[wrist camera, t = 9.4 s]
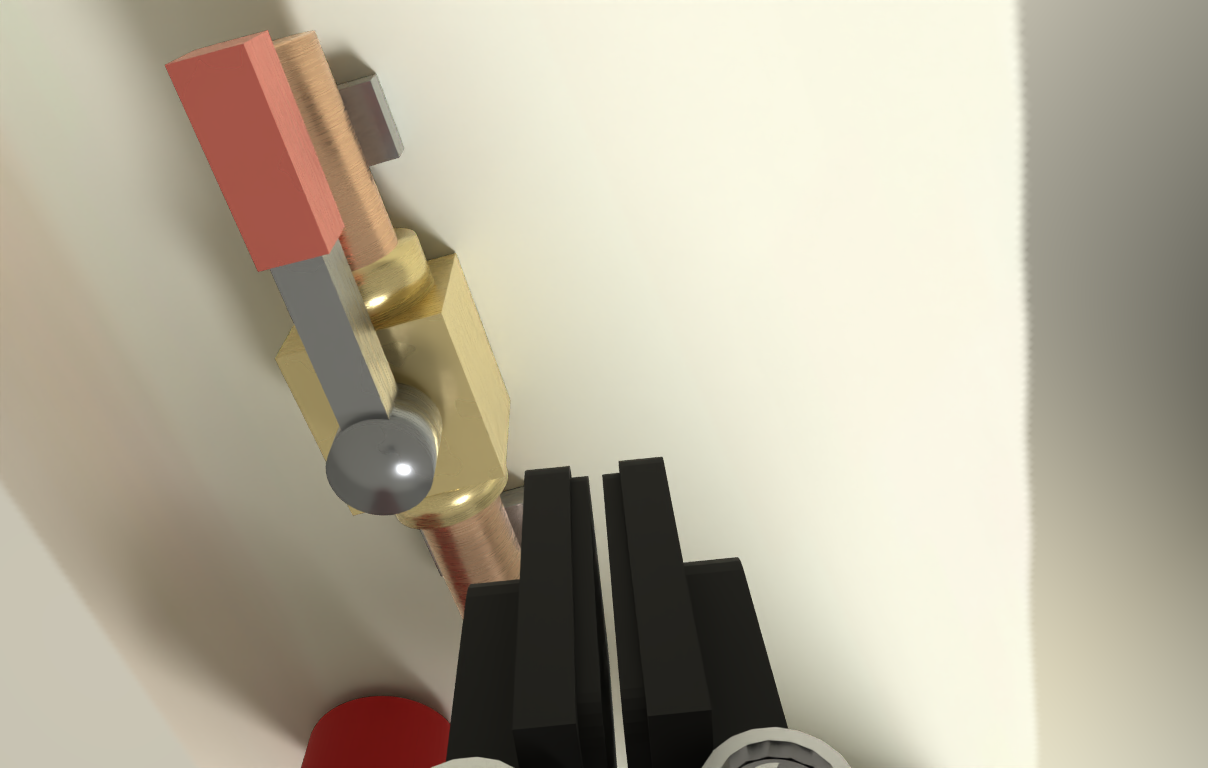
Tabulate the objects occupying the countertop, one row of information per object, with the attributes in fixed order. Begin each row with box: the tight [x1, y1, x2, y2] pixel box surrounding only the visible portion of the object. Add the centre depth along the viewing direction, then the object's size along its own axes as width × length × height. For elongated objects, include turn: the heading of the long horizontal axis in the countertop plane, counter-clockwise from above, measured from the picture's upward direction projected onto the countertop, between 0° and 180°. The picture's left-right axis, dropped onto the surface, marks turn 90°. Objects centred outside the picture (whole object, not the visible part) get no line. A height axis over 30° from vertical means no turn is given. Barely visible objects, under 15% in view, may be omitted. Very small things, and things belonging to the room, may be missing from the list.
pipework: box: [272, 31, 524, 619], centre depth 31 cm, size 22×5×5 cm, turn 15°
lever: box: [165, 30, 443, 515], centre depth 25 cm, size 13×3×3 cm, turn 14°
